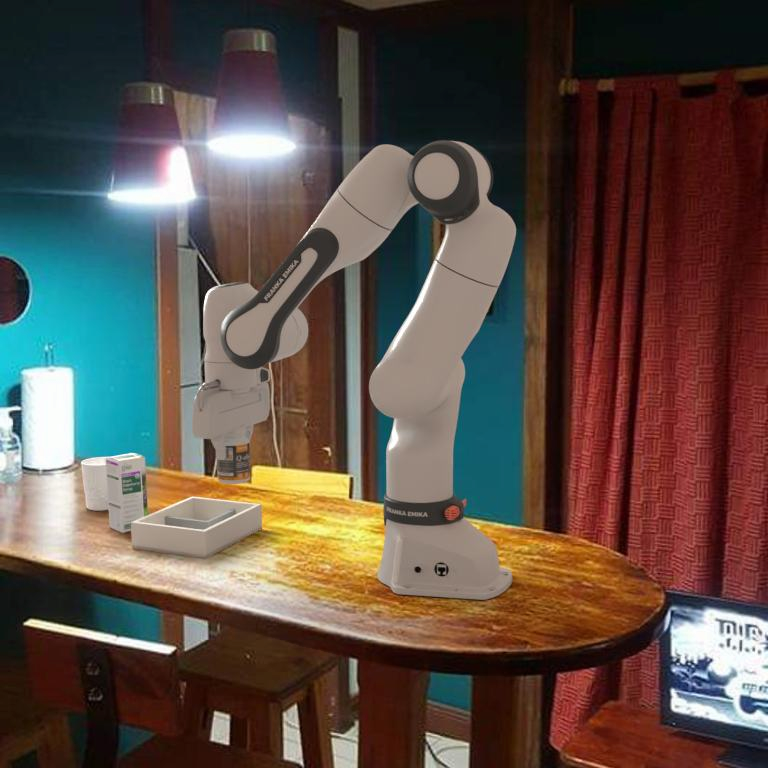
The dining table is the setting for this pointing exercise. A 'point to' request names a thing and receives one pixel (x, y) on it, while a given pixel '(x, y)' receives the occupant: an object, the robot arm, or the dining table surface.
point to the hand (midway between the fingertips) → (233, 454)
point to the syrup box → (126, 490)
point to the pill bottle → (235, 459)
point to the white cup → (95, 483)
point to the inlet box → (196, 527)
